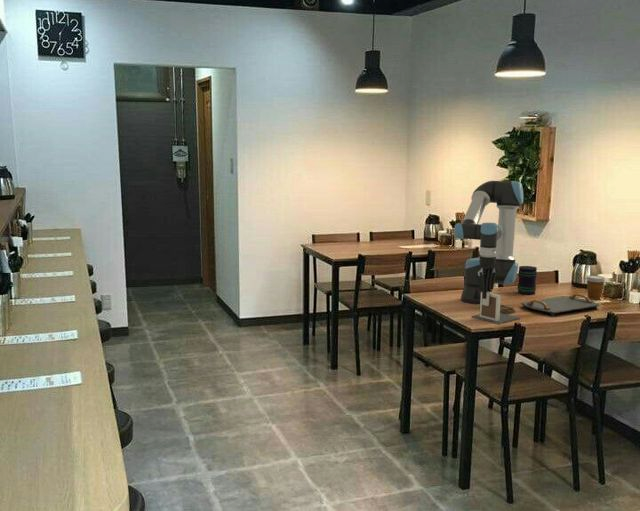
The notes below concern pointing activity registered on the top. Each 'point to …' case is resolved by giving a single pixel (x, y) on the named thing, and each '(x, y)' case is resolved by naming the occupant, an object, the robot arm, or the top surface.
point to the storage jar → (527, 280)
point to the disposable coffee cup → (595, 286)
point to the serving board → (560, 304)
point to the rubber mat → (502, 318)
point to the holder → (506, 309)
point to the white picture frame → (491, 307)
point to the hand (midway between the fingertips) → (485, 304)
